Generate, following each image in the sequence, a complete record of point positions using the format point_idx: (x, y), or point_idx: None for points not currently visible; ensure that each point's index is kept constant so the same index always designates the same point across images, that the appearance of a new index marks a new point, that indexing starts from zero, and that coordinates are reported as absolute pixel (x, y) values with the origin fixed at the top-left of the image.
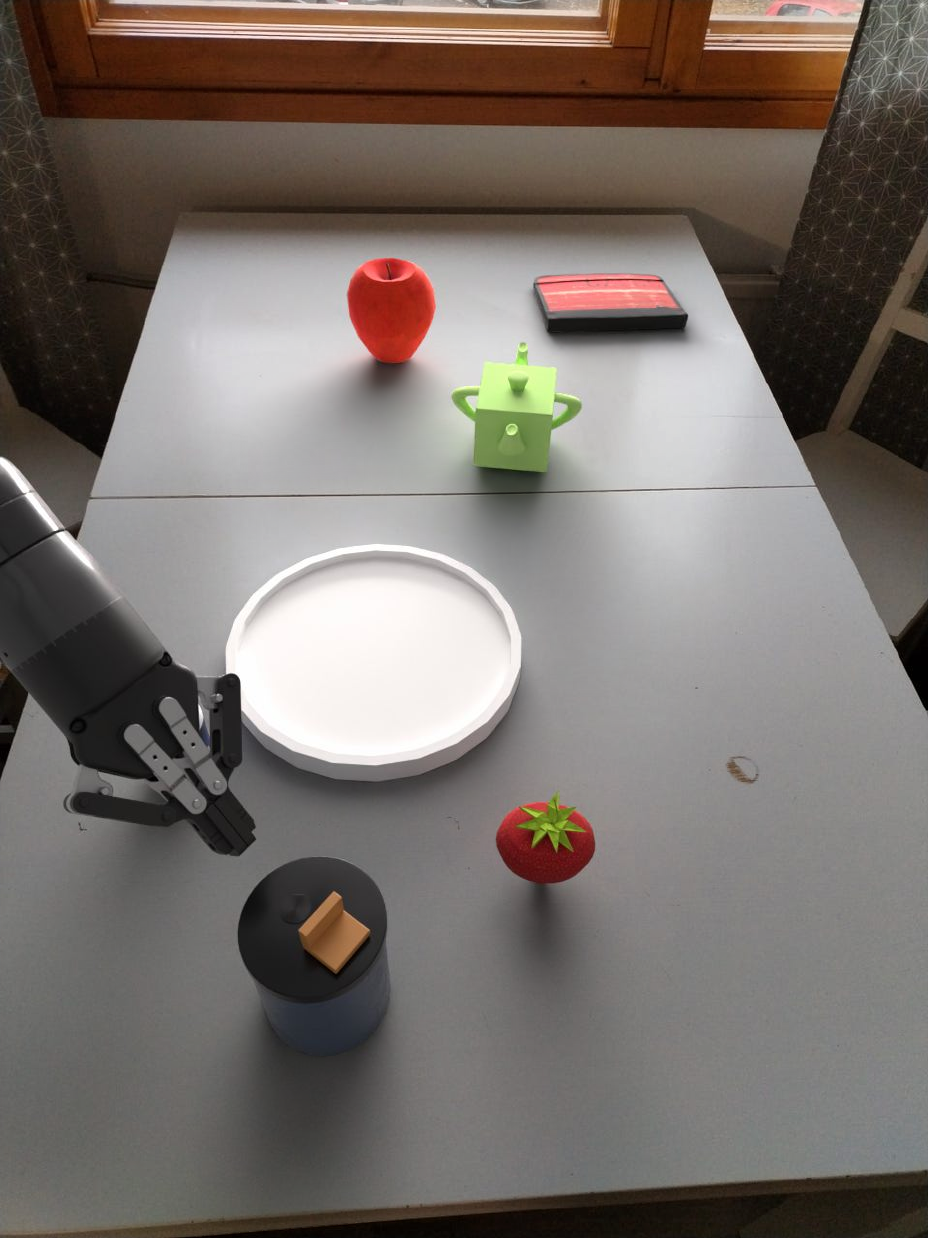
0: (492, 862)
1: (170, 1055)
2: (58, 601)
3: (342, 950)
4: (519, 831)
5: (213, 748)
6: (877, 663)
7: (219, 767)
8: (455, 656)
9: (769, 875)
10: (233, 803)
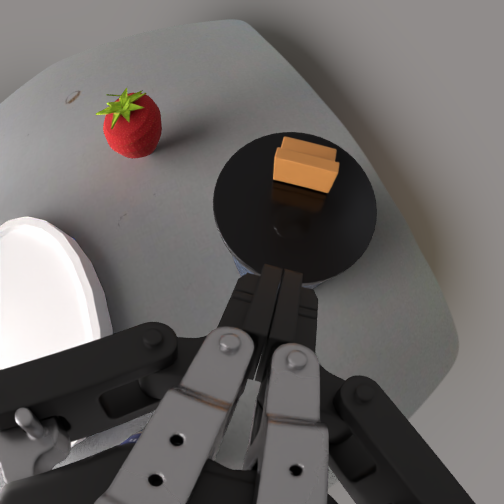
0: (146, 181)
1: (369, 333)
2: None
3: (315, 150)
4: (130, 124)
5: (144, 404)
6: (27, 84)
7: (185, 364)
8: (8, 272)
9: (129, 68)
10: (236, 312)
